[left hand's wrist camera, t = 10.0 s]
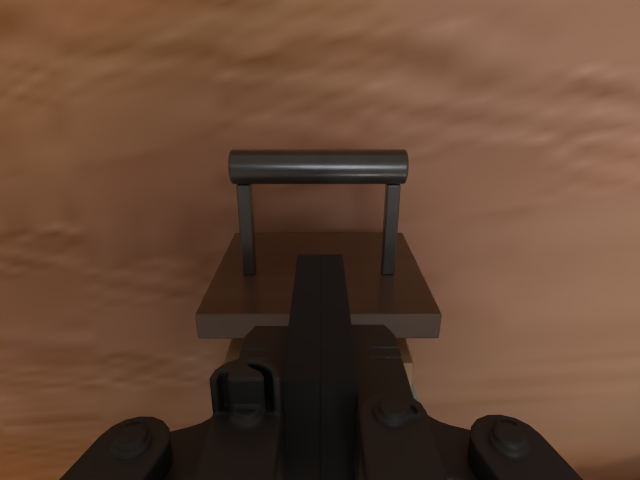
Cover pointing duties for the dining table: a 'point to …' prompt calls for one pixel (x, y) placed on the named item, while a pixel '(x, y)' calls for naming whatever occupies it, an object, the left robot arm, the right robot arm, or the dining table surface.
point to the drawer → (282, 249)
